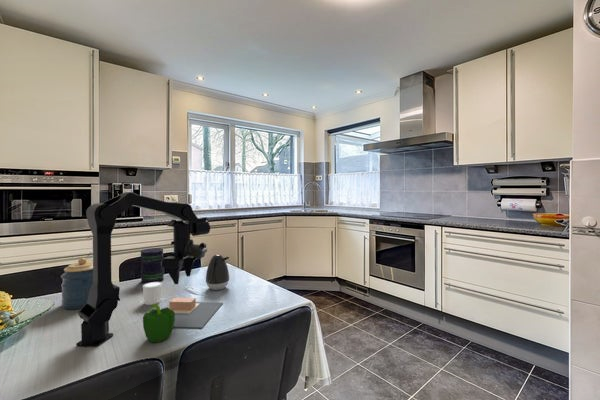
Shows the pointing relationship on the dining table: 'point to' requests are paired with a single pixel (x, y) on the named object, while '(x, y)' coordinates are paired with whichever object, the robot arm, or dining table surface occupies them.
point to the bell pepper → (158, 323)
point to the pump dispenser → (217, 273)
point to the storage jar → (151, 265)
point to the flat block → (182, 304)
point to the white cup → (152, 292)
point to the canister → (77, 284)
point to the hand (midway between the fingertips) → (182, 280)
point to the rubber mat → (196, 315)
